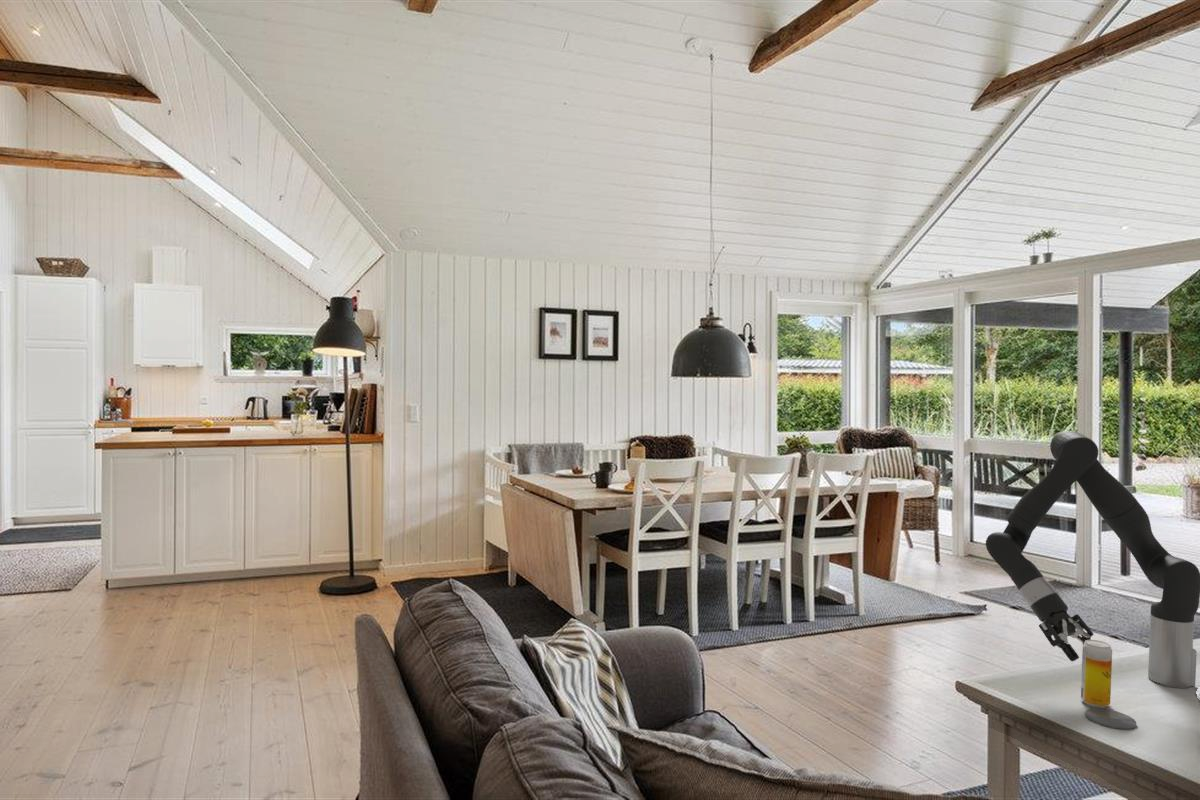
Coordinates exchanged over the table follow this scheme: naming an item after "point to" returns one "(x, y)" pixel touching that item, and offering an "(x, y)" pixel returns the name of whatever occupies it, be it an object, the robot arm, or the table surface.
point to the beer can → (1096, 673)
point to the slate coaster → (1110, 718)
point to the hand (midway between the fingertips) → (1086, 657)
